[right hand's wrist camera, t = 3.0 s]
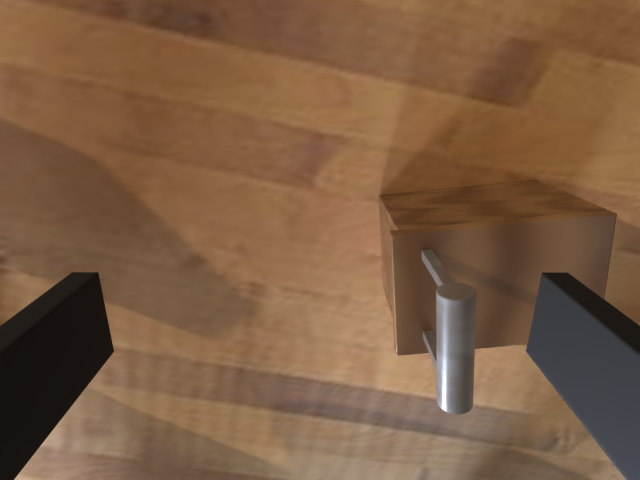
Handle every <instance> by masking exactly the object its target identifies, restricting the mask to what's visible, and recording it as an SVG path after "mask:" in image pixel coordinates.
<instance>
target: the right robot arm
mask: <svg viewBox="0 0 640 480" xmlns="http://www.w3.org/2000/svg"><path fill="white" fill-rule="evenodd" d="M113 352H114V349H113V344H112V339H111V334H110V329H109V324H108V319H107V314H106V309H105V304H104V299H103V294H102V289H101V284H100V279H99V274H98V272H72V273H71V274H70V275H68V276H67V277H65V278H64V279H63V280H61V281H60V282H59V283H57V284H56V285H55V286H53V287H52V288H51V289H49V290H48V291H47V292H45V293H44V294H43V295H41V296H40V297H39V298H37V299H36V300H35V301H33V302H32V303H31V304H29V305H28V306H27V307H25V308H24V309H23V310H21V311H20V312H19V313H17V314H16V315H15V316H13V317H12V318H11V319H9V320H8V321H7V322H5V323H4V324H2V325H1V326H0V480H14V479H15V477H16V476H17V475H18V474H19V472H20V471H21V470H22V469H23V467H24V466H25V465H26V463H27V462H28V461H29V460H30V458H31V457H32V456H33V454H34V453H35V452H36V451H37V449H38V448H39V447H40V445H41V444H42V443H43V442H44V440H45V439H46V438H47V437H48V435H49V434H50V433H51V431H52V430H53V429H54V428H55V426H56V425H57V424H58V422H59V421H60V420H61V419H62V417H63V416H64V415H65V413H66V412H67V411H68V410H69V408H70V407H71V406H72V405H73V403H74V402H75V401H76V399H77V398H78V397H79V396H80V394H81V393H82V392H83V390H84V389H85V388H86V387H87V385H88V384H89V383H90V381H91V380H92V379H93V378H94V376H95V375H96V374H97V372H98V371H99V370H100V369H101V367H102V366H103V365H104V364H105V362H106V361H107V360H108V358H109V357H110V356H111V355H112V353H113ZM526 352H527V353H528V355H529V356H530V357H531V358H532V360H533V361H534V362H535V364H536V365H537V366H538V367H539V369H540V370H541V371H542V372H543V374H544V375H545V376H546V378H547V379H548V380H549V381H550V383H551V384H552V385H553V387H554V388H555V389H556V390H557V392H558V393H559V394H560V396H561V397H562V398H563V399H564V401H565V402H566V403H567V405H568V406H569V407H570V408H571V410H572V411H573V412H574V413H575V415H576V416H577V417H578V419H579V420H580V421H581V422H582V424H583V425H584V426H585V428H586V429H587V430H588V431H589V433H590V434H591V435H592V437H593V438H594V439H595V440H596V442H597V443H598V444H599V445H600V447H601V448H602V449H603V451H604V452H605V453H606V454H607V456H608V457H609V458H610V460H611V461H612V462H613V463H614V465H615V466H616V467H617V469H618V470H619V471H620V472H621V474H622V475H623V476H624V477H625V479H626V480H640V326H639V325H638V324H636V323H635V322H633V321H632V320H631V319H629V318H628V317H627V316H625V315H624V314H623V313H621V312H620V311H619V310H617V309H616V308H615V307H613V306H612V305H611V304H609V303H608V302H607V301H605V300H604V299H603V298H601V297H600V296H599V295H597V294H596V293H595V292H593V291H592V290H591V289H589V288H588V287H587V286H585V285H584V284H583V283H581V282H580V281H579V280H577V279H576V278H575V277H573V276H572V275H570V274H569V273H568V272H542V274H541V279H540V284H539V289H538V294H537V299H536V304H535V309H534V314H533V319H532V324H531V329H530V334H529V339H528V344H527V349H526Z"/></svg>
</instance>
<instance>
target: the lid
mask: <svg viewBox="0 0 640 480" xmlns="http://www.w3.org/2000/svg"><path fill="white" fill-rule="evenodd" d="M616 216H617V214H616V213H614V212H611V211H609V210H601V211H590V212H580V213H569V214H559V215H548V216H538V217H527V218H517V219H506V220H496V221H485V222H475V223H464V224H454V225H443V226H433V227H422V228H412V229H401V230H391V231H389V240H390V261H391V283H392V305H393V326H394V348H395V352H396V355H410V354H422V353H429V354H430V357H431V359H432V361H433V364H434V366H435V369H436V371H437V403H438V405H439V406H440V408H442V409H443V410H444V411H446V412H448V413H451V414H464V413H467V412H469V411H470V410H471V408H472V406H473V386H474V353H475V349H480V348H492V347H503V346H515V345H527V344H528V339H529V334H530V329H531V324H532V319H533V314H534V309H535V304H536V299H537V294H538V289H539V284H540V279H541V274H542V272H568V273H569V274H570V275H572V276H573V277H575V278H576V279H577V280H579V281H580V282H581V283H583V284H584V285H585V286H587V287H588V288H589V289H591V290H592V291H593V292H595V293H596V294H597V295H599V296H600V297H601V298H603V299H604V297H605V290H606V283H607V276H608V270H609V263H610V256H611V249H612V243H613V236H614V229H615V223H616Z"/></svg>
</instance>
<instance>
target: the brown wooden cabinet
mask: <svg viewBox="0 0 640 480" xmlns="http://www.w3.org/2000/svg"><path fill="white" fill-rule="evenodd" d="M379 209H380V228H381V246H382V265H383V284H384V292H385V295H386V298H387V301H388V304H389V307H390V310H391V314H392V317H393V305H392V283H391V261H390V240H389V231H391V230H401V229H412V228H422V227H433V226H443V225H454V224H464V223H475V222H485V221H496V220H506V219H517V218H527V217H538V216H548V215H559V214H569V213H580V212H590V211H601V210H606V209H605V208H602V207H600V206H598V205H595V204H593V203H590V202H588V201H586V200H583V199H581V198H579V197H576V196H574V195H571V194H569V193H567V192H564V191H562V190H560V189H557V188H555V187H552V186H550V185H548V184H545V183H543V182H540V181H538V180H532V181H522V182H512V183H502V184H491V185H481V186H471V187H461V188H451V189H440V190H430V191H420V192H410V193H400V194H390V195H380V196H379Z"/></svg>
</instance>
